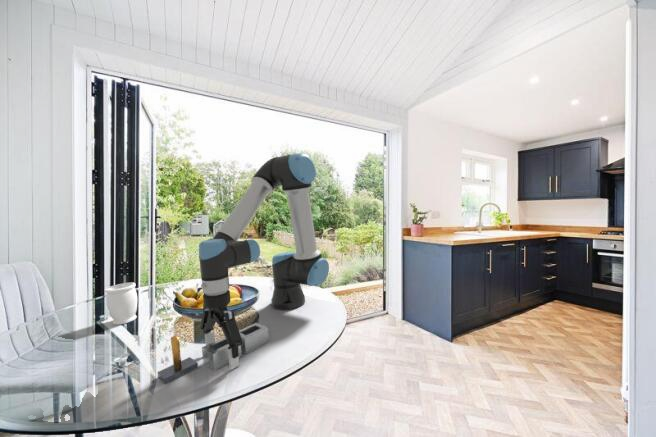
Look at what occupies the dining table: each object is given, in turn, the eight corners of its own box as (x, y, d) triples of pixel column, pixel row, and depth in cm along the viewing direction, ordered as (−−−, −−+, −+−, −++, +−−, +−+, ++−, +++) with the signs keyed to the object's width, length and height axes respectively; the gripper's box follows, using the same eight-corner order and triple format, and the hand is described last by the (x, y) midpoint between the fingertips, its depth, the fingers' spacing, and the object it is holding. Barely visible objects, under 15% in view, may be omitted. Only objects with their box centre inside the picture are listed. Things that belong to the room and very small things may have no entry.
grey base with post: (190, 361, 88) (186, 328, 87) (198, 367, 84) (194, 333, 83) (158, 377, 81) (153, 341, 80) (165, 384, 78) (160, 346, 77)
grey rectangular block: (230, 349, 93) (229, 335, 93) (241, 356, 89) (240, 340, 89) (203, 363, 86) (201, 347, 86) (214, 371, 82) (212, 354, 82)
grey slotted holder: (257, 336, 101) (256, 322, 101) (268, 341, 97) (267, 327, 97) (234, 347, 94) (233, 333, 94) (246, 354, 90) (244, 338, 90)
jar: (124, 326, 115) (119, 290, 114) (102, 326, 118) (98, 290, 116) (145, 315, 126) (141, 282, 124) (125, 314, 128) (121, 282, 127)
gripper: (185, 287, 91) (191, 352, 93) (227, 304, 75) (233, 381, 77) (207, 281, 97) (213, 342, 98) (251, 295, 81) (257, 367, 82)
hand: (222, 359), depth 88 cm, fingers open, 13 cm apart
